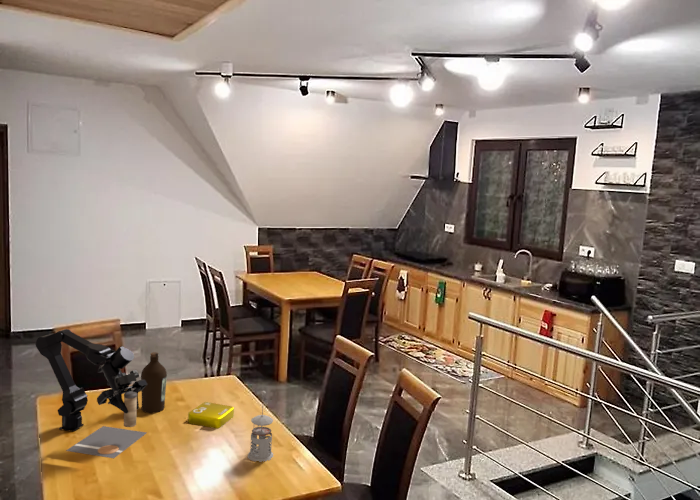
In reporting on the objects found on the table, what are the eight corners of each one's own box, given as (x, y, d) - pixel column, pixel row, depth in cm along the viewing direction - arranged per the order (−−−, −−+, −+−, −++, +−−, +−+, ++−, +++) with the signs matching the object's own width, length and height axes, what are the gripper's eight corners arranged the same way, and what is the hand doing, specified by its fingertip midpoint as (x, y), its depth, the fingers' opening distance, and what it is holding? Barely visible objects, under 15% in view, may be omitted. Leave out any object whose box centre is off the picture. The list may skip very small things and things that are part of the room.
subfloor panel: (65, 454, 204) (65, 450, 204) (103, 429, 226) (103, 425, 226) (113, 462, 201) (114, 457, 201) (147, 436, 223) (147, 432, 222)
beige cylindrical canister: (120, 426, 212) (121, 395, 211) (127, 421, 217) (128, 391, 216) (132, 428, 212) (132, 396, 210) (138, 423, 216) (139, 392, 215)
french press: (251, 463, 206) (254, 397, 203) (242, 449, 216) (245, 386, 214) (277, 459, 211) (280, 393, 208) (267, 445, 221) (270, 383, 218)
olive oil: (138, 414, 243) (139, 357, 240) (142, 404, 253) (143, 349, 250) (164, 413, 245) (166, 356, 242) (167, 403, 255) (168, 349, 253)
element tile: (218, 429, 233) (218, 418, 233) (185, 423, 237) (186, 412, 237) (235, 416, 247) (235, 405, 247) (204, 410, 251) (204, 400, 251)
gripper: (102, 370, 206) (121, 407, 201) (144, 358, 222) (163, 393, 217) (88, 386, 211) (106, 423, 206) (131, 373, 227) (149, 407, 222)
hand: (132, 410), depth 213 cm, fingers closed on beige cylindrical canister, 4 cm apart
